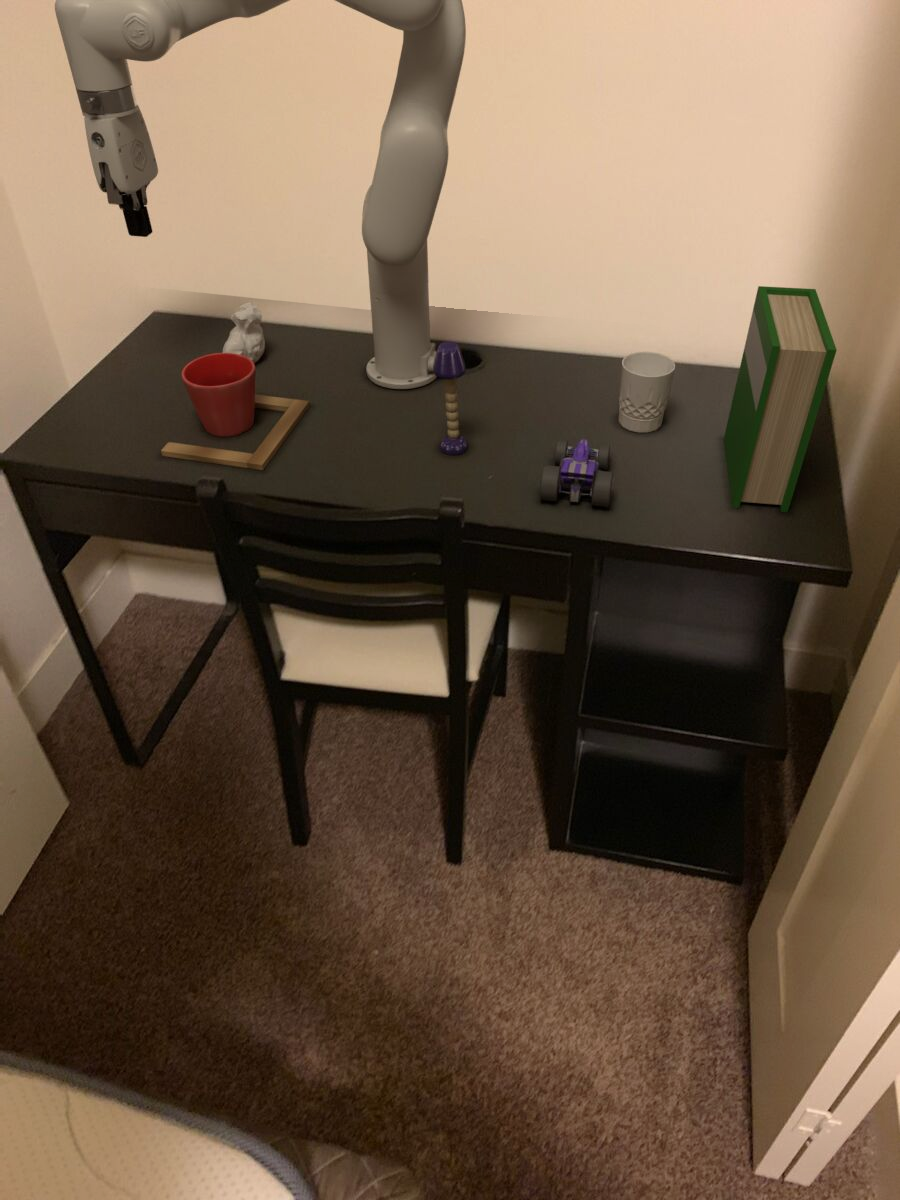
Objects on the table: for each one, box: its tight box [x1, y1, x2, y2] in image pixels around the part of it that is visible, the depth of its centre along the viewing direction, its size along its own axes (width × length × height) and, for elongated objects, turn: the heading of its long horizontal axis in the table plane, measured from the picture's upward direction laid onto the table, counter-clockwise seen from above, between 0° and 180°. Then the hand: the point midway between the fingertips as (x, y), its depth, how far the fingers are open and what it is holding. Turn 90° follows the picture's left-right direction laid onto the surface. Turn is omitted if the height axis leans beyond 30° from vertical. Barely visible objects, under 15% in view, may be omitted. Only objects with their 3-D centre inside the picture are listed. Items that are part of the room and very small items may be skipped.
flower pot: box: [181, 352, 256, 438], centre depth 138 cm, size 11×11×10 cm
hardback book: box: [723, 285, 838, 513], centre depth 121 cm, size 18×7×24 cm, turn 171°
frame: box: [160, 393, 311, 471], centre depth 140 cm, size 16×19×1 cm
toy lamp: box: [434, 341, 469, 456], centre depth 130 cm, size 5×5×17 cm
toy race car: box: [539, 438, 614, 508], centre depth 126 cm, size 10×15×6 cm, turn 168°
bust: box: [221, 301, 266, 364], centre depth 154 cm, size 12×8×11 cm
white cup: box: [618, 351, 676, 434], centre depth 137 cm, size 8×8×10 cm
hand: (141, 234), depth 136 cm, fingers closed
